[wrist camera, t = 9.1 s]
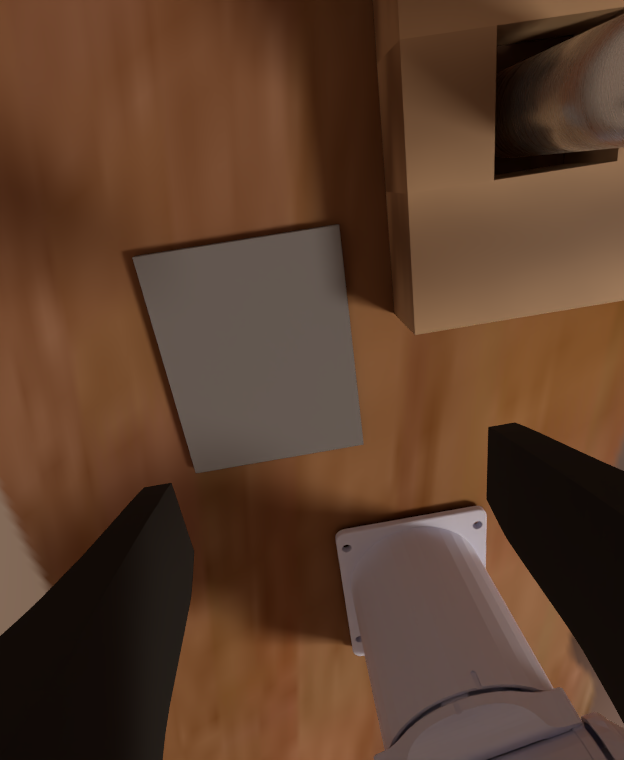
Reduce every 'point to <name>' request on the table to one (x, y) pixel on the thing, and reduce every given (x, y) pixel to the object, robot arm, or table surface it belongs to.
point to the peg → (564, 97)
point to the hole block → (486, 172)
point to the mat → (256, 345)
